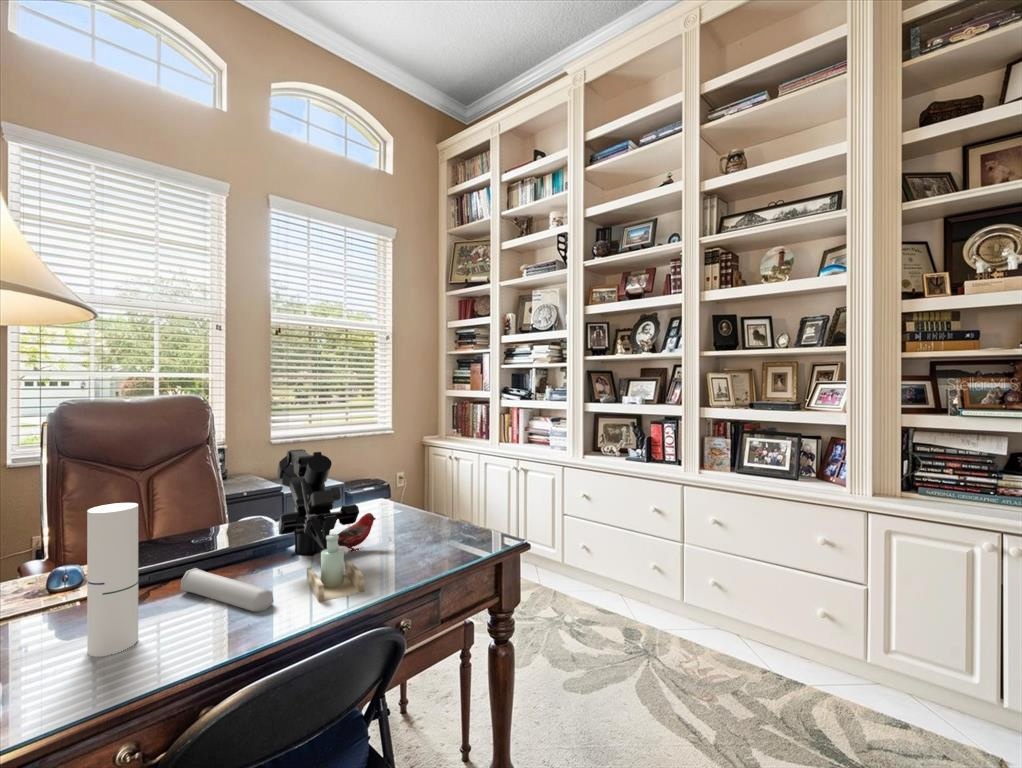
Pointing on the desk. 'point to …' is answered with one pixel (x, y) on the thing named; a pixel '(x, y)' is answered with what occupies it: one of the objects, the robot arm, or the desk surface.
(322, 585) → the cradle
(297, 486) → the robot arm
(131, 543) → the cylindrical container
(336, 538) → the bottle
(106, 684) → the desk surface
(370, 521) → the decorative bird figurine
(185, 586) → the tube
